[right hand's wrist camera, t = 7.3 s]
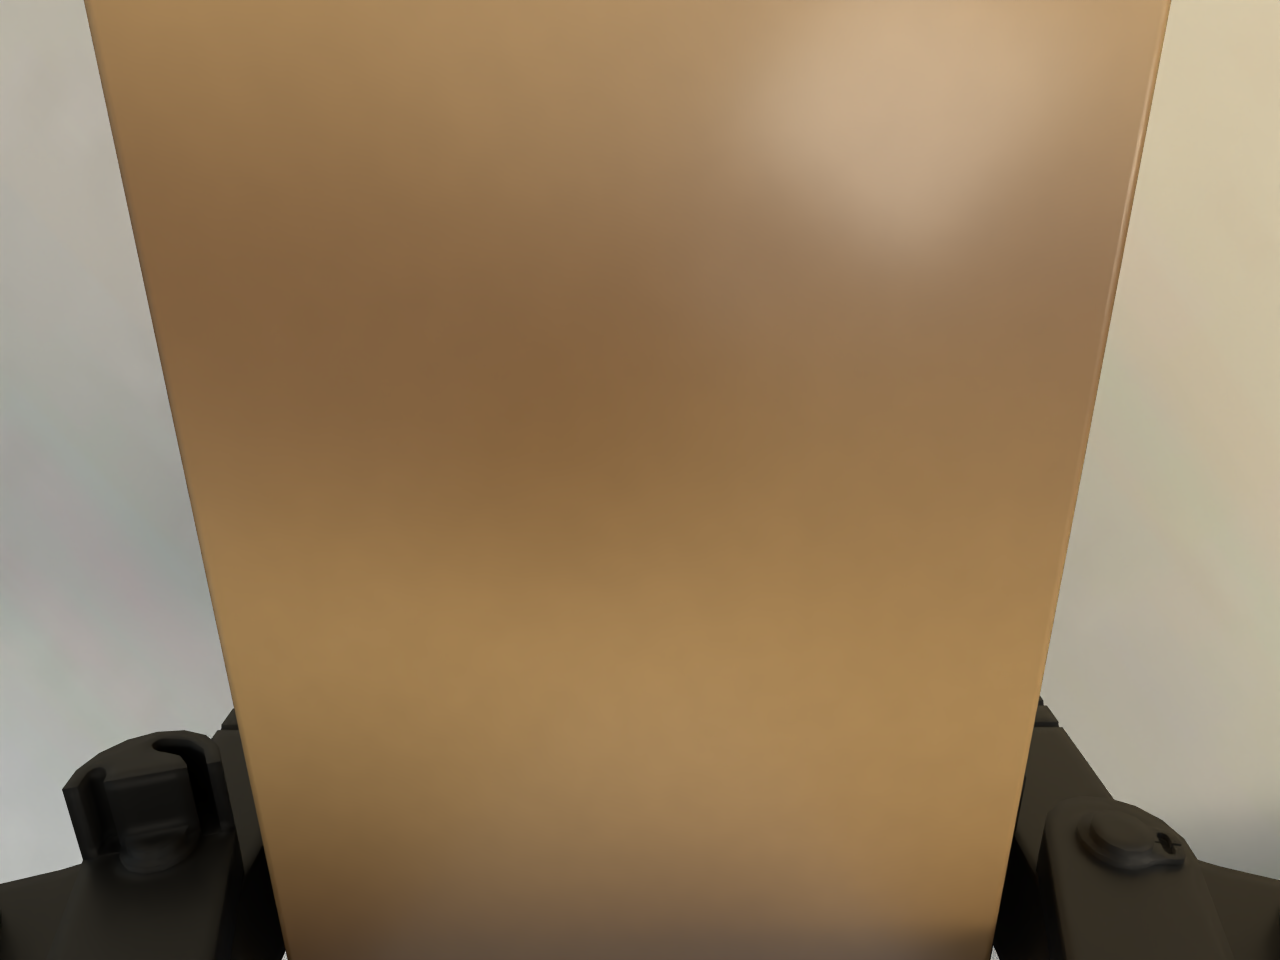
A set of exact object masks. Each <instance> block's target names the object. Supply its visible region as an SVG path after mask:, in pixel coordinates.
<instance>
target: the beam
mask: <svg viewBox="0 0 1280 960" xmlns="http://www.w3.org/2000/svg"><path fill="white" fill-rule="evenodd" d="M84 3H85V8H86V13H87V17H88V22H89V27H90V31H91V36H92V41H93V46H94V50H95V55H96V60H97V64H98V69H99V74H100V79H101V83H102V88H103V93H104V97H105V102H106V107H107V111H108V116H109V121H110V126H111V130H112V135H113V140H114V144H115V149H116V154H117V159H118V163H119V168H120V173H121V177H122V182H123V187H124V191H125V196H126V201H127V206H128V210H129V215H130V220H131V224H132V229H133V234H134V239H135V243H136V248H137V253H138V257H139V262H140V267H141V271H142V276H143V281H144V286H145V290H146V295H147V300H148V304H149V309H150V314H151V319H152V323H153V328H154V333H155V337H156V342H157V347H158V352H159V356H160V361H161V366H162V370H163V375H164V380H165V384H166V389H167V394H168V399H169V403H170V408H171V413H172V417H173V422H174V427H175V432H176V436H177V441H178V446H179V450H180V455H181V460H182V464H183V469H184V474H185V479H186V483H187V488H188V493H189V497H190V502H191V507H192V512H193V516H194V521H195V526H196V530H197V535H198V540H199V544H200V549H201V554H202V559H203V563H204V568H205V573H206V577H207V582H208V587H209V592H210V596H211V601H212V606H213V610H214V615H215V620H216V625H217V629H218V634H219V639H220V643H221V648H222V653H223V657H224V662H225V667H226V672H227V676H228V681H229V686H230V690H231V695H232V700H233V705H234V709H235V714H236V719H237V723H238V728H239V733H240V737H241V742H242V747H243V752H244V756H245V761H246V766H247V770H248V775H249V780H250V785H251V789H252V794H253V799H254V803H255V808H256V813H257V817H258V822H259V827H260V832H261V836H262V841H263V846H264V850H265V855H266V860H267V865H268V869H269V874H270V879H271V883H272V888H273V893H274V897H275V902H276V907H277V912H278V916H279V921H280V926H281V930H282V935H283V940H284V945H285V949H286V954H287V959H288V960H989V959H990V954H991V949H992V943H993V938H994V933H995V928H996V922H997V917H998V912H999V907H1000V901H1001V896H1002V891H1003V885H1004V880H1005V875H1006V870H1007V864H1008V859H1009V854H1010V848H1011V843H1012V838H1013V833H1014V827H1015V822H1016V817H1017V812H1018V806H1019V801H1020V796H1021V790H1022V785H1023V780H1024V775H1025V769H1026V764H1027V759H1028V753H1029V748H1030V743H1031V738H1032V732H1033V727H1034V722H1035V717H1036V711H1037V706H1038V701H1039V695H1040V690H1041V685H1042V680H1043V674H1044V669H1045V664H1046V658H1047V653H1048V648H1049V643H1050V637H1051V632H1052V627H1053V622H1054V616H1055V611H1056V606H1057V600H1058V595H1059V590H1060V585H1061V579H1062V574H1063V569H1064V563H1065V558H1066V553H1067V548H1068V542H1069V537H1070V532H1071V527H1072V521H1073V516H1074V511H1075V505H1076V500H1077V495H1078V490H1079V484H1080V479H1081V474H1082V468H1083V463H1084V458H1085V453H1086V447H1087V442H1088V437H1089V432H1090V426H1091V421H1092V416H1093V410H1094V405H1095V400H1096V395H1097V389H1098V384H1099V379H1100V373H1101V368H1102V363H1103V358H1104V352H1105V347H1106V342H1107V337H1108V331H1109V326H1110V321H1111V315H1112V310H1113V305H1114V300H1115V294H1116V289H1117V284H1118V279H1119V273H1120V268H1121V263H1122V257H1123V252H1124V247H1125V242H1126V236H1127V231H1128V226H1129V220H1130V215H1131V210H1132V205H1133V199H1134V194H1135V189H1136V184H1137V178H1138V173H1139V168H1140V162H1141V157H1142V152H1143V147H1144V141H1145V136H1146V131H1147V125H1148V120H1149V115H1150V110H1151V104H1152V99H1153V94H1154V89H1155V83H1156V78H1157V73H1158V67H1159V62H1160V57H1161V52H1162V46H1163V41H1164V36H1165V30H1166V25H1167V20H1168V15H1169V9H1170V4H1171V0H84Z"/></svg>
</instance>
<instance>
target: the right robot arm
mask: <svg viewBox="0 0 1280 960" xmlns="http://www.w3.org/2000/svg"><path fill="white" fill-rule="evenodd" d="M62 791H63V794H64V798H65V801H66V804H67V808H68V811H69V814H70V818H71V821H72V824H73V828H74V831H75V834H76V838H77V841H78V844H79V848H80V851H81V855H82V858H83V862H82V864H79V865H76V866H72V867H69V868H66V869H62V870H58V871H54V872H50V873H45V874H41V875H37V876H33V877H28V878H24V879H20V880H15V881H11V882H7V883H2V884H0V960H282V958H283V955H284V953H285V951H286V949H285V945H284V940H283V935H282V930H281V926H280V921H279V916H278V912H277V907H276V902H275V897H274V893H273V888H272V883H271V879H270V874H269V869H268V865H267V860H266V855H265V850H264V846H263V841H262V836H261V832H260V827H259V822H258V817H257V813H256V808H255V803H254V799H253V794H252V789H251V785H250V780H249V775H248V770H247V766H246V761H245V756H244V752H243V747H242V742H241V737H240V733H239V728H238V723H237V719H236V714H235V709H232V711H231V712H230V714H229V715H228V716H227V718H226V719H225V721H224V722H223V723H222V728H221V730H217V732H216V733H215V735H214V736H213V737H212V739H210V738H209V737H207V736H206V735H203V734H199V733H194V732H190V731H185V730H181V731H164V732H155V733H151V734H148V735H144V736H140V737H136V738H133V739H129V740H126V741H124V742H122V743H120V744H118V745H116V746H113V747H111V748H109V749H107V750H105V751H103V752H101V753H99V754H97V755H96V756H95V757H93V758H92V759H91V760H89V761H88V762H87V763H85V764H84V765H83V766H81V767H80V768H79V769H77V770H76V771H75V773H74V774H73V775H72V777H71V778H70V779H69V781H68V782H67V783H66V785H65V786H64V787H63V789H62ZM993 946H994V948H995V950H996V952H997V955H998V957H999V959H1000V960H1280V880H1276V879H1272V878H1267V877H1263V876H1259V875H1254V874H1250V873H1246V872H1241V871H1237V870H1233V869H1228V868H1224V867H1220V866H1216V865H1213V864H1210V863H1206V862H1203V861H1200V860H1197V858H1196V857H1195V855H1194V853H1193V852H1192V850H1191V849H1190V847H1189V846H1188V844H1187V843H1186V841H1185V839H1184V838H1183V837H1181V836H1180V835H1179V834H1178V833H1177V832H1175V831H1174V830H1173V829H1172V828H1171V827H1170V826H1168V825H1167V824H1166V823H1165V822H1164V821H1162V820H1161V819H1159V818H1157V817H1155V816H1153V815H1151V814H1149V813H1147V812H1146V811H1144V810H1142V809H1140V808H1138V807H1136V806H1133V805H1130V804H1127V803H1123V802H1120V801H1117V800H1114V799H1113V797H1112V796H1111V795H1110V793H1109V792H1108V790H1107V789H1106V788H1105V786H1104V785H1103V783H1102V782H1101V781H1100V779H1099V778H1098V776H1097V775H1096V774H1095V772H1094V771H1093V769H1092V768H1091V767H1090V765H1089V764H1088V762H1087V761H1086V760H1085V758H1084V757H1083V755H1082V754H1081V753H1080V751H1079V750H1078V749H1077V747H1076V746H1075V744H1074V743H1073V742H1072V740H1071V739H1070V737H1069V736H1068V735H1067V733H1066V732H1065V730H1064V729H1063V728H1062V727H1059V725H1058V721H1057V719H1056V718H1055V716H1054V715H1053V714H1052V712H1051V711H1050V709H1049V708H1048V707H1047V706H1044V705H1043V700H1042V698H1041V697H1040V695H1039V701H1038V706H1037V711H1036V717H1035V722H1034V727H1033V732H1032V738H1031V743H1030V748H1029V753H1028V759H1027V764H1026V769H1025V775H1024V780H1023V785H1022V790H1021V796H1020V801H1019V806H1018V812H1017V817H1016V822H1015V827H1014V833H1013V838H1012V843H1011V848H1010V854H1009V859H1008V864H1007V870H1006V875H1005V880H1004V885H1003V891H1002V896H1001V901H1000V907H999V912H998V917H997V922H996V928H995V933H994V938H993V943H992V949H993ZM992 949H991V954H992ZM991 954H990V959H991ZM990 959H989V960H990Z"/></svg>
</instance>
